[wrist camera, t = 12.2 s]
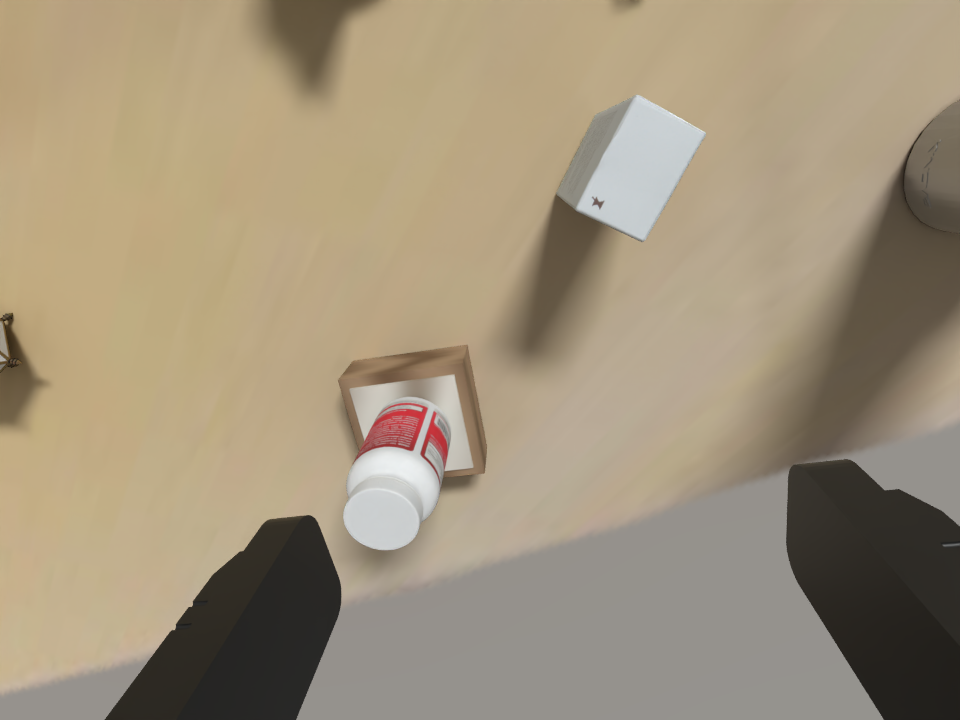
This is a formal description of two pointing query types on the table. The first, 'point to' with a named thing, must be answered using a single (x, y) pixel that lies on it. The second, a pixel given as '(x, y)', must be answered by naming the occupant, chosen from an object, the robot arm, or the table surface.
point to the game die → (6, 346)
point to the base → (429, 378)
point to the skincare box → (629, 165)
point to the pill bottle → (397, 474)
